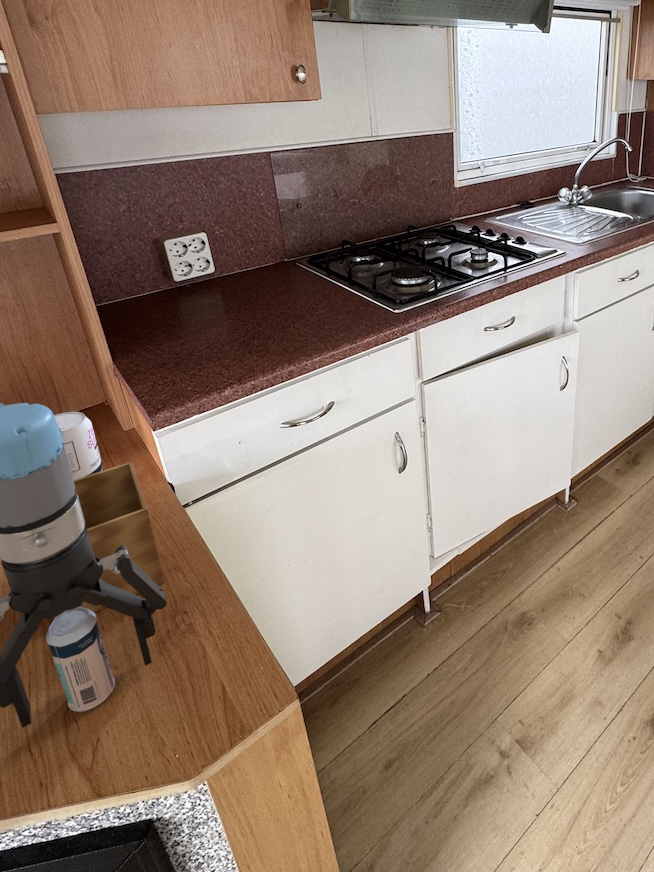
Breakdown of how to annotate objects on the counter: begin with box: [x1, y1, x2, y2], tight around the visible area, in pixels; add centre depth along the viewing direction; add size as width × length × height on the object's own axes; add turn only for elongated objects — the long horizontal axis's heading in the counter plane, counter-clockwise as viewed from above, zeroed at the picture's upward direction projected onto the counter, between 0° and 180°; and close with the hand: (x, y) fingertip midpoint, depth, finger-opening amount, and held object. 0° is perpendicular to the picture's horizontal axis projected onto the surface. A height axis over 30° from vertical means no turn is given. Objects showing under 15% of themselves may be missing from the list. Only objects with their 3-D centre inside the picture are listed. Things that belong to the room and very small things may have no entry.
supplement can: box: [54, 411, 105, 480], centre depth 102 cm, size 8×8×15 cm
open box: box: [53, 461, 165, 620], centre depth 86 cm, size 13×14×14 cm
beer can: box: [45, 607, 116, 713], centre depth 68 cm, size 5×5×12 cm
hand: (89, 684), depth 70 cm, fingers open, 11 cm apart
